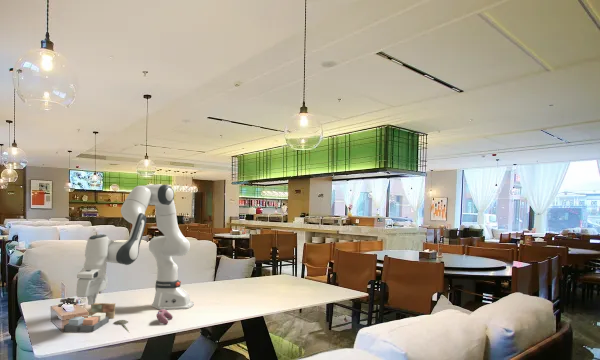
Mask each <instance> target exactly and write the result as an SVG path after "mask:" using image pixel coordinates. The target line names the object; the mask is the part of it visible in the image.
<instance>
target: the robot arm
mask: <svg viewBox="0 0 600 360" xmlns="http://www.w3.org/2000/svg"><path fill="white" fill-rule="evenodd" d="M174 198H175V191H174V189H173V188H172V186H170V185H167V184H148V185H146V184H145V185H137V186H135V187H133V188H132V189H131V191H130V192H129V193H128V195H127V196H126V198H125V200H124V201H123V203H122V206H121V208H120V214H121V217H123V219H124V220H125V221H127V222H128V223H129V224H132V227H131V230H130V233H129V236H128V238H127V240H126V241H123V242H122V241H115V240H112V239H111V238H109V237H108V235H107V234H94V235H91V236H90V237H88V238H87V242H86V246H85V250H84V257H85V261H84V264H83V268H82V269H81V270H80V271H79V272H78V273H77V274H76V278H77V279H78V280H77V283H76V291H75V292H76V294H75V295H76V296H77V298H86V299H87V305H88V306H91V305H92V304H94V303H96V299H97V297H98V295H99V294H98V293H100V292H102V291H105V290H107V288H108V282H109V281H108V280H109V279H108V273H107V266H108V265H107V263H111V264H112V263H113V264H121V265H125V266H130V265H131V264H133V263H134V262H135V261H136V260H137V259H138V257H139V252H140V245H141V242H142V239H143V235H144V234H145V233H144V232H145V230H146V229H145V228H146V225H147V216H146V211H147V210H148V209H147V208H148V206H150V205H151V206H155V207H154V208H155V209H154V210H155V220H156V228H157V229H158V231H160V232H161V233H162V235H159V236H155V237H152V238H151V239H150V240H149V243H148V250H149V251H150V252H151V254H152V255H153V257H154V258H155V262H156V267H157V269H156V271H157V272H156V281H155V287H154V288H155V294H154V299H153V303H152V304H151V307H152V308H155V309H158V310H161V309H165V310H184V309H185V310H186V309H187V310H188V309H190V308H192V307H193V306H194V301H191V296H190V293H189V292H188V291H186V290H185V289H184V288H183V287H181V284H182V281H181V280H179V279H178V273H179V272H178V271H179V265H178V264H177V263H176V262H175V261H174V260H173V257H182V256H186V255H187V254H188V253H189V252H190V251H191V250H190V249H191V243H190V241H189V239H188V238H186V237H185V236H184V234H183V233H182V231H181V230H180V228H179V224H178V217H177V208H176V203H175V200H174Z"/></svg>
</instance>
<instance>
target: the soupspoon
mask: <svg viewBox="0 0 600 360" xmlns="http://www.w3.org/2000/svg"><path fill="white" fill-rule="evenodd" d="M112 324H114V325H120V326H122V327H123V328H124V329H125V330H126V332H129V329H128V327H127V326H126V324H129V321H128V320H126V319H119V320H115V321H114V322H113V323H112Z"/></svg>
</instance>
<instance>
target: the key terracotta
mask: <svg viewBox="0 0 600 360" xmlns="http://www.w3.org/2000/svg"><path fill="white" fill-rule="evenodd" d="M96 323H98V317H88V318H86V319H84V320H83V325H94V324H96Z"/></svg>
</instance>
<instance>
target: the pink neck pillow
mask: <svg viewBox="0 0 600 360" xmlns="http://www.w3.org/2000/svg"><path fill="white" fill-rule="evenodd" d="M155 315H156V319H157V320H158V321H159V322H160V323H161V324H163V325H169V320H172V319H173V317H174V316H173V315H172V314H171V313H170V312H168V309H158V311H157V313H156V314H155Z"/></svg>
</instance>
